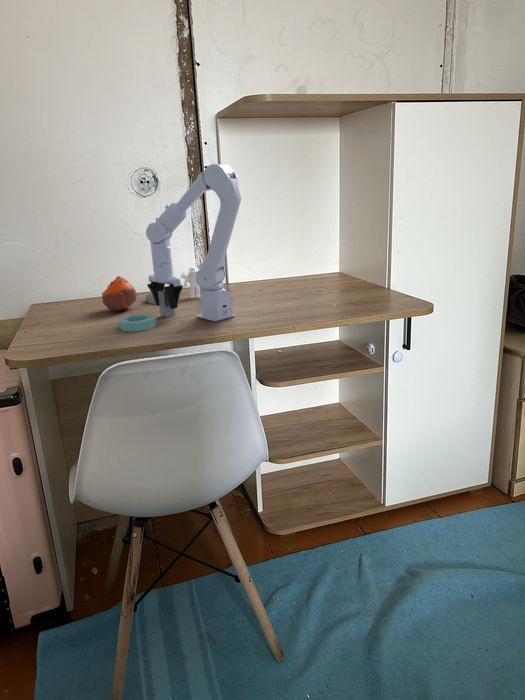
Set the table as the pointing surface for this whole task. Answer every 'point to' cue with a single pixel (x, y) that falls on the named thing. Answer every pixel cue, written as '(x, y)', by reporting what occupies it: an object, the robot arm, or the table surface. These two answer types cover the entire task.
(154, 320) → the teal creased ring
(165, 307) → the dark metal rectangular bar
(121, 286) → the orange rounded figure
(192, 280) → the blocky character figurine
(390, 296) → the table surface
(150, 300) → the stone block
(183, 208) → the robot arm
